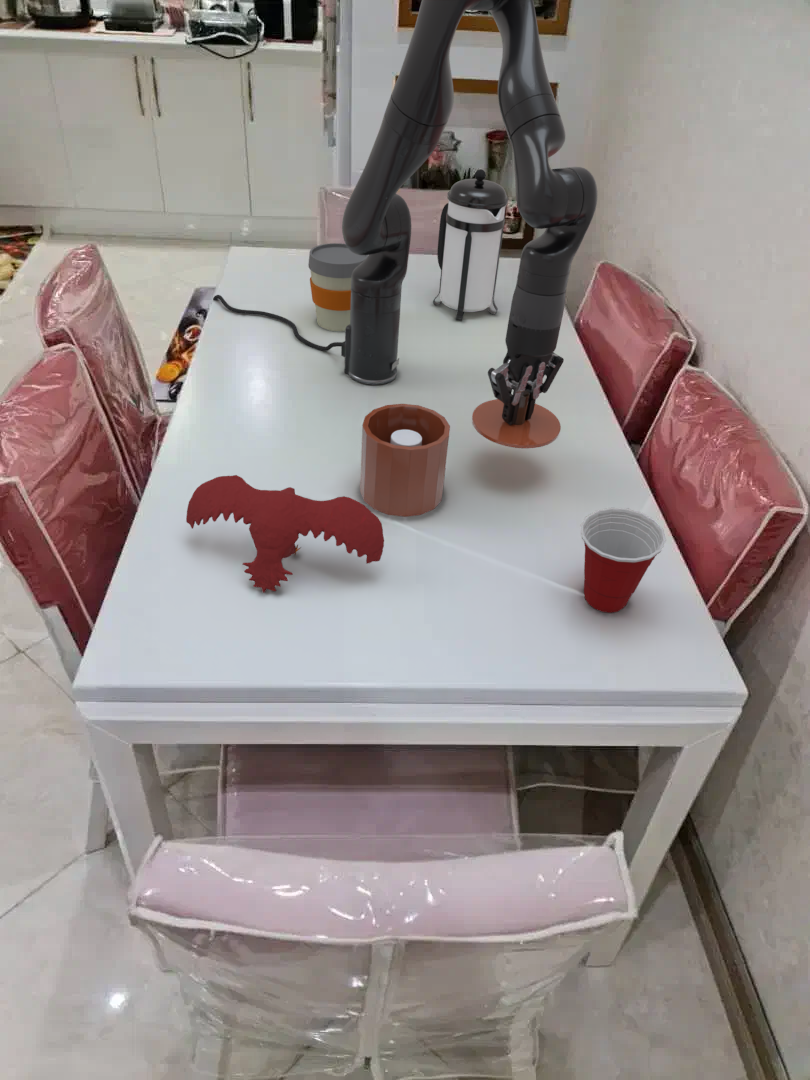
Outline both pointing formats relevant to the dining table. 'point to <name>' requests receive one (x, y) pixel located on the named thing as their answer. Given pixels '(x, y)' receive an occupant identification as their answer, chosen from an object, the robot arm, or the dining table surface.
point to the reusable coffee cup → (332, 283)
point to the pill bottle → (406, 438)
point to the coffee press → (471, 244)
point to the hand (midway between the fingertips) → (516, 419)
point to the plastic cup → (617, 555)
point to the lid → (516, 424)
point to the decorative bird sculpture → (285, 523)
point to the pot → (403, 460)
